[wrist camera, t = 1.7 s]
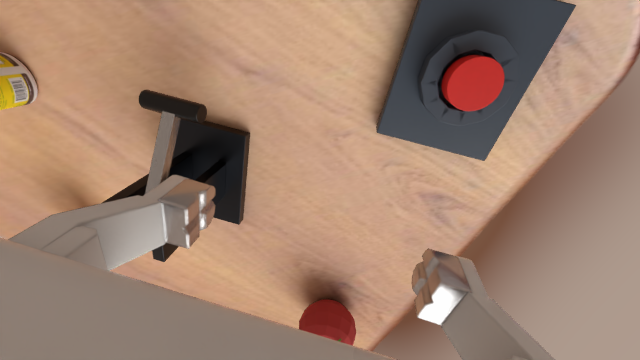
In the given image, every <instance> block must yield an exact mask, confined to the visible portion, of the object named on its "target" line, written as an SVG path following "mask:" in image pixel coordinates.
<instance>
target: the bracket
mask: <svg viewBox="0 0 640 360" xmlns="http://www.w3.org/2000/svg"><path fill="white" fill-rule="evenodd" d="M249 139H250V133H248V132H245V131H241V130H237V129H233V128H230V127H226V126H222V125H219V124H215V123H211V122H207V121H204V122H202V123H196V122H193V121H189V120H185V119H181V121H180V125H179V130H178V135H177V139H176V144H175V148H174V153H173V158H172V162H171V167H170V172H169V176H168V178H169V177H170V176H172V175H179V176H182V177H186V178H189V179H193V180H196V181H199V182H202V183H205V184H208V185H212V186H214V188H215V197H214V198H213V199H212V201H213V202H214V204H215V212H214V216H213V217H214V218H217V219H221V220H225V221H228V222H232V223H235V224H240V223H241V221H242V220H243V213H244V201H245V189H246V176H247V164H248V152H249ZM148 177H149V174H147V175H146V176H144V177H143V178H141V179H139V180H138V181H136V182H135V183H133V184H131V185H130V186H128V187H127V188H125V189H123V190H122V191H120V192H118V193H117V194H115V195H114V196H112V197H110V198H109V199H107V200H106V201H104V202H102V203H106V202H110V201H115V200H119V199H123V198H128V197H132V196H137V195H140V196H143V195H145V191H146V186H147V182H148ZM178 247H179V246H177V245H173V244H169V243H166V242H165V244H164V245H162V246H160V247H158V248H156V249H154V250H152V252H153V259H156V260H159V261H162V262H165V261H166V260H167V259H168V258H169V256H170V255H171V254H172V253H173V252H174V251H175V250H176V249H177V248H178Z"/></svg>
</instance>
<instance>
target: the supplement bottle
mask: <svg viewBox="0 0 640 360" xmlns="http://www.w3.org/2000/svg"><path fill="white" fill-rule="evenodd" d="M37 94H38V89H37V85H36V82H35V80H34V78H33V76H32V74H31V73H30V71H29V70H28V69H27V68H26V67H25V66H24V65H23V64H22V63H21V62H20V61H19V60H17V59H16V58H14V57H13V56H11V55H8V54H6V53H2V52H0V110H2V109H7V108H12V107H17V106H22V105H26V104H30V103H32V102H33V101H35V99H36V97H37Z"/></svg>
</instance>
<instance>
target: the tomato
mask: <svg viewBox="0 0 640 360" xmlns="http://www.w3.org/2000/svg"><path fill="white" fill-rule="evenodd" d="M299 329H300V330H303V331H306V332H309V333H313V334H316V335H319V336H322V337H326V338H329V339H332V340H336V341H339V342H342V343H345V344H349V345H352V346H353V343H354V340H355V335H356V328H355V322H354V319H353V317H352V315H351V313H350V312H349V311H348V310H347V309H346V308H345V306H343V305H342V304H341V303H339V302H337V301H334V300H331V299H323V300H320V301H317V302H315V303H313V304H311V305H309V306H308V307H307V309H306V310H305V311H304V313H303V315H302V317H301V319H300V321H299Z"/></svg>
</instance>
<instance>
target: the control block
mask: <svg viewBox="0 0 640 360" xmlns="http://www.w3.org/2000/svg"><path fill="white" fill-rule="evenodd" d="M575 7H576V5H574V4H570V3H566V2H561V1H557V0H418V3H417V6H416V9H415V12H414V15H413V18H412V21H411V24H410V27H409V30H408V33H407V36H406V39H405V42H404V45H403V48H402V51H401V54H400V57H399V60H398V63H397V66H396V69H395V72H394V75H393V78H392V81H391V84H390V88H389V91H388V94H387V97H386V100H385V103H384V106H383V109H382V112H381V115H380V118H379V121H378V124H377V127H376V128H377V133H380V134H384V135H387V136H391V137H395V138H399V139H403V140H407V141H410V142H414V143H418V144H422V145H426V146H429V147H433V148H437V149H441V150H445V151H448V152H452V153H456V154H460V155H464V156H467V157H471V158H475V159H479V160H483V161H485V159H486V158H487V156H488V154H489V152H490V151H491V149H492V147H493V146H494V144H495V142H496V141H497V139H498V137H499V135H500V134H501V132H502V130H503V129H504V127H505V125H506V124H507V122H508V120H509V119H510V117H511V115H512V113H513V112H514V110H515V108H516V107H517V105H518V103H519V102H520V100H521V98H522V96H523V95H524V93H525V91H526V90H527V88H528V86H529V85H530V83H531V81H532V79H533V78H534V76H535V74H536V73H537V71H538V69H539V68H540V66H541V64H542V63H543V61H544V59H545V57H546V56H547V54H548V52H549V51H550V49H551V47H552V46H553V44H554V42H555V40H556V39H557V37H558V35H559V34H560V32H561V30H562V29H563V27H564V25H565V24H566V22H567V20H568V18H569V17H570V15H571V13H572V12H573V10H574V8H575ZM468 55H480V56H485V57H490V58H492V59H494V60H496V61H497V62H498V63H499V64H500V65H501V66H502V68H503V71H504V77H505V78H504V85H503V88H502V90H501V92H500V94H499V95H498V97H497V98H496V99H495V100H494V101H493V102H492V103H491V104H489V105H488V106H486V107H484V108H482V109H479V110H476V111H463V110H460V109H457V108H456V107H454V106H453V105H452V104H451V103H450V102H448V101H447V100H446V98H445V97H444V95H443V93H442V87H441V85H442V79H443V76H444V74H445V72H446V70H447V69H448V68H449V66H450V65H451V64H452V63H454V62H455V61H456V60H458V59H460V58H462V57H464V56H468Z"/></svg>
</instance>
